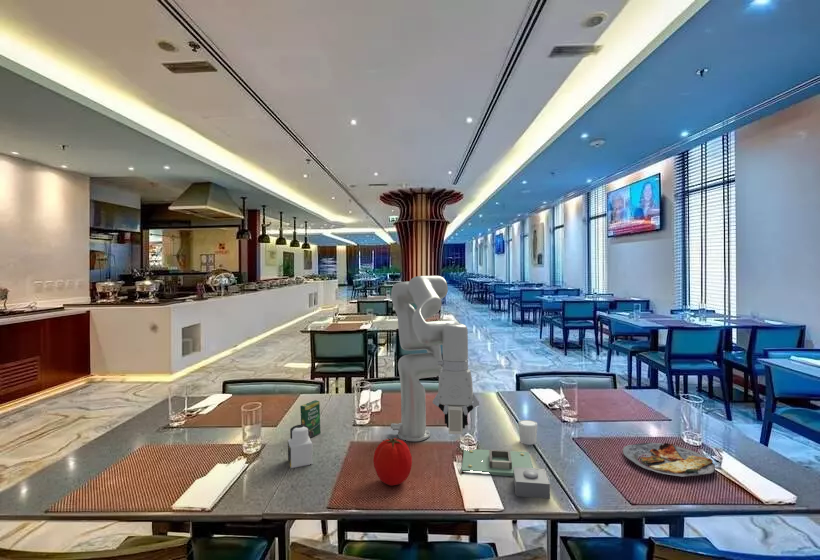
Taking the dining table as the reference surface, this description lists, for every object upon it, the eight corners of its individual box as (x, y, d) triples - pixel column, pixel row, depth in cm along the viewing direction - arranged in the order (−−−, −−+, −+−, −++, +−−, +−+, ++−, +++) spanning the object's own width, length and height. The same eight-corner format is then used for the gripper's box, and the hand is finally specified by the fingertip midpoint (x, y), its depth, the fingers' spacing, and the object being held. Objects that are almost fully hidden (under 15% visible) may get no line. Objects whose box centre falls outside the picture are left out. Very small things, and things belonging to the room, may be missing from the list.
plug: (448, 434, 117) (448, 406, 117) (450, 426, 124) (449, 400, 124) (462, 434, 117) (462, 407, 117) (463, 426, 123) (463, 400, 123)
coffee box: (305, 440, 154) (305, 406, 154) (300, 439, 155) (299, 405, 155) (321, 433, 161) (320, 400, 161) (315, 432, 162) (315, 399, 162)
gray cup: (538, 445, 145) (538, 426, 145) (519, 444, 146) (518, 425, 146) (536, 438, 152) (536, 420, 152) (518, 437, 153) (517, 419, 153)
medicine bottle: (287, 460, 137) (287, 424, 137) (309, 456, 140) (308, 421, 140) (290, 468, 131) (289, 431, 131) (312, 464, 133) (312, 428, 133)
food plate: (671, 445, 143) (671, 435, 143) (735, 476, 121) (734, 465, 120) (608, 453, 139) (608, 443, 139) (661, 487, 116) (661, 475, 116)
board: (461, 472, 126) (461, 468, 126) (464, 451, 141) (464, 447, 141) (535, 477, 122) (535, 473, 122) (529, 455, 137) (529, 451, 137)
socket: (489, 467, 127) (489, 461, 127) (489, 455, 135) (489, 449, 135) (511, 469, 125) (511, 462, 125) (510, 456, 134) (509, 450, 134)
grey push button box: (516, 496, 112) (515, 479, 112) (513, 480, 120) (513, 464, 120) (550, 498, 110) (549, 481, 110) (545, 482, 119) (544, 466, 119)
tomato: (416, 474, 125) (415, 432, 125) (407, 495, 113) (406, 448, 113) (380, 471, 128) (379, 429, 128) (367, 491, 116) (367, 445, 116)
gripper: (425, 367, 118) (426, 429, 118) (483, 369, 115) (484, 433, 115) (429, 362, 125) (429, 420, 125) (483, 363, 122) (484, 423, 122)
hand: (456, 425), depth 120 cm, fingers closed on plug, 4 cm apart
